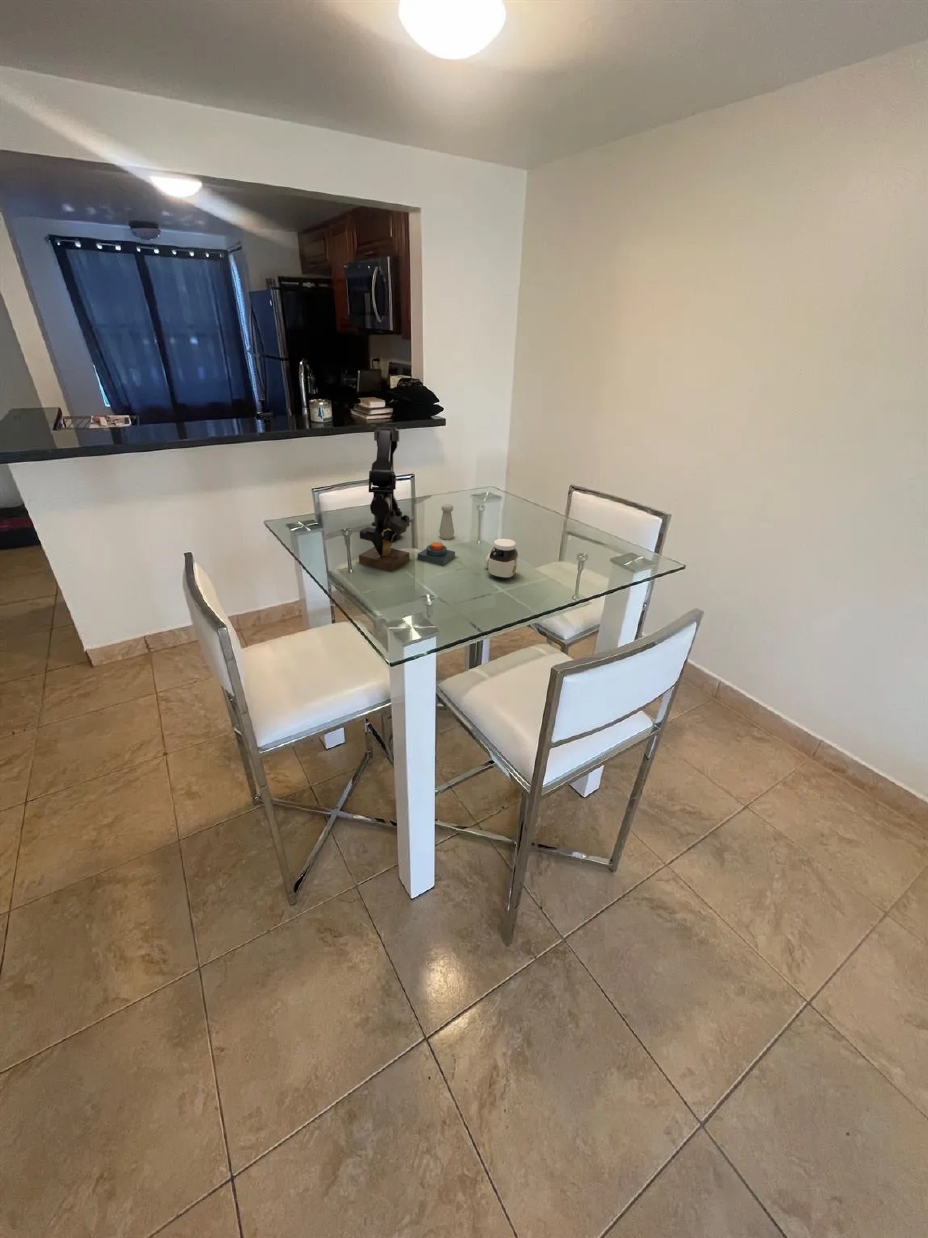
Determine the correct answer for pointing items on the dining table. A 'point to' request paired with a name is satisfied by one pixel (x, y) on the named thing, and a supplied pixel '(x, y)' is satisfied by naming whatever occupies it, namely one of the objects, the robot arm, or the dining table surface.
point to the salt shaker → (446, 522)
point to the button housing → (436, 555)
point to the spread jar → (502, 559)
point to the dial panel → (384, 559)
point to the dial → (386, 548)
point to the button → (436, 546)
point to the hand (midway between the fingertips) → (384, 552)
